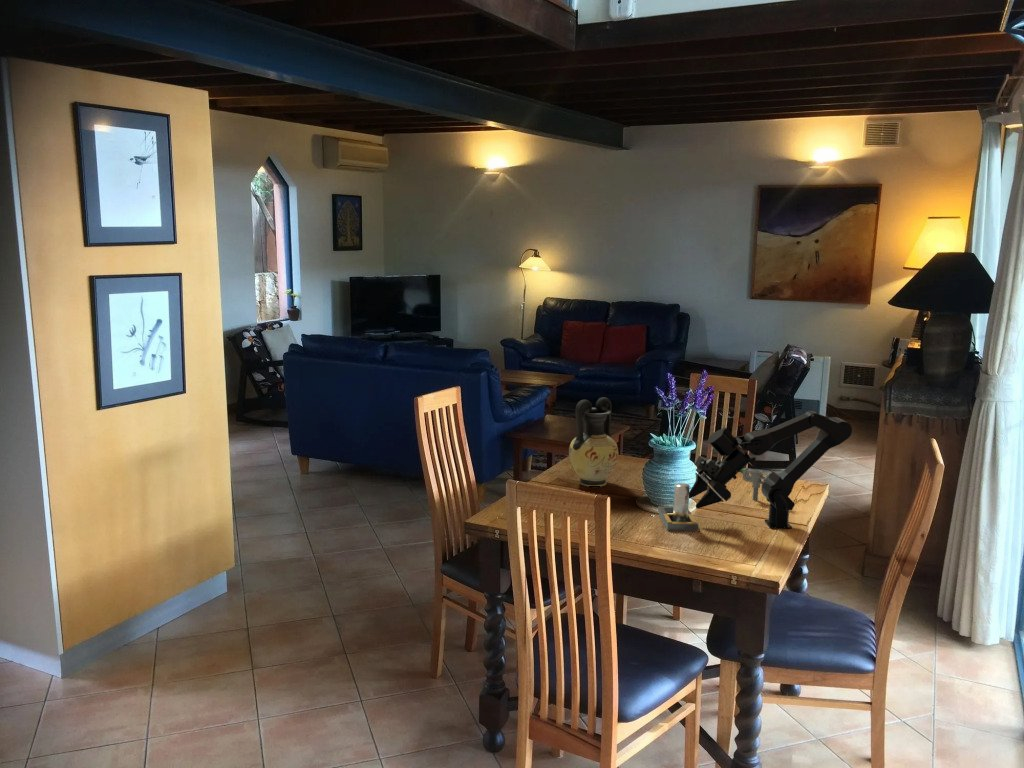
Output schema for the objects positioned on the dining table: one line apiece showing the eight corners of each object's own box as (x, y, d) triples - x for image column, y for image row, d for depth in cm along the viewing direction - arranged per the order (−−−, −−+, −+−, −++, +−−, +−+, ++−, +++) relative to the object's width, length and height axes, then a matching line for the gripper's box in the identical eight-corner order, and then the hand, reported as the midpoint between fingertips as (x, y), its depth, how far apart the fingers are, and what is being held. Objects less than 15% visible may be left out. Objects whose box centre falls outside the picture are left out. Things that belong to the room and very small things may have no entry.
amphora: (589, 473, 303) (592, 391, 298) (627, 483, 292) (631, 399, 287) (557, 482, 291) (559, 398, 286) (595, 494, 279) (599, 405, 274)
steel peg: (689, 527, 249) (692, 487, 247) (676, 528, 248) (678, 488, 246) (683, 522, 253) (685, 482, 251) (670, 523, 252) (672, 483, 250)
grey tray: (697, 531, 246) (698, 523, 246) (667, 530, 246) (667, 523, 246) (686, 513, 262) (686, 505, 262) (657, 512, 262) (658, 505, 262)
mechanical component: (768, 504, 272) (770, 474, 270) (738, 498, 278) (740, 468, 276) (771, 502, 274) (774, 472, 272) (741, 496, 280) (743, 467, 279)
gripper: (703, 439, 256) (666, 475, 258) (722, 456, 238) (682, 493, 239) (727, 464, 258) (690, 499, 259) (748, 482, 240) (708, 519, 241)
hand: (692, 502), depth 250 cm, fingers open, 9 cm apart
